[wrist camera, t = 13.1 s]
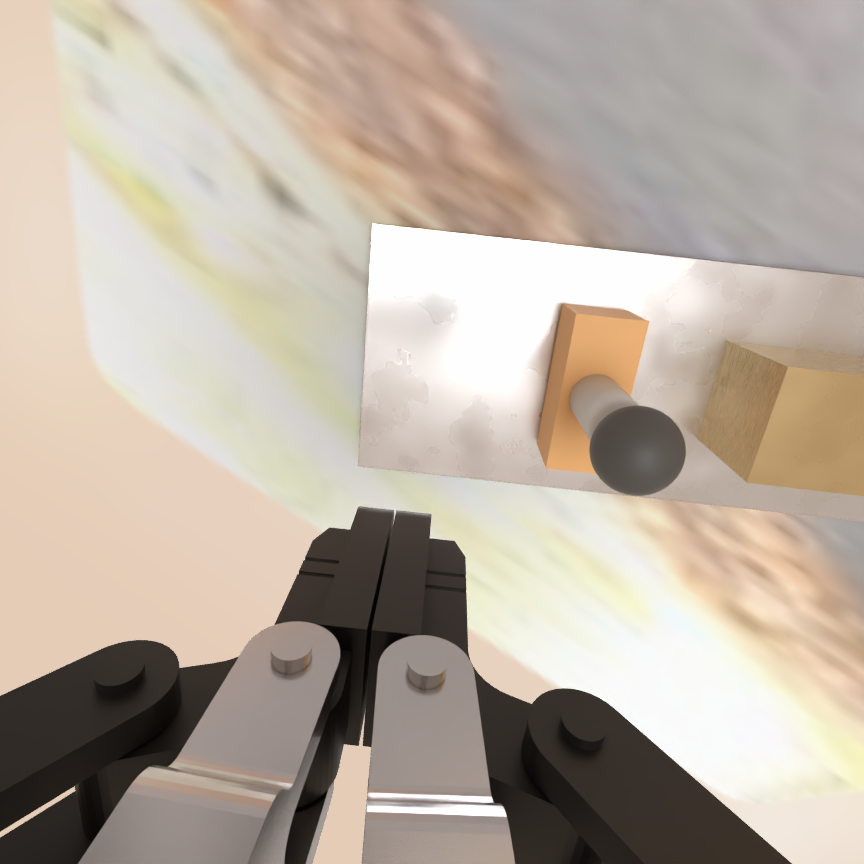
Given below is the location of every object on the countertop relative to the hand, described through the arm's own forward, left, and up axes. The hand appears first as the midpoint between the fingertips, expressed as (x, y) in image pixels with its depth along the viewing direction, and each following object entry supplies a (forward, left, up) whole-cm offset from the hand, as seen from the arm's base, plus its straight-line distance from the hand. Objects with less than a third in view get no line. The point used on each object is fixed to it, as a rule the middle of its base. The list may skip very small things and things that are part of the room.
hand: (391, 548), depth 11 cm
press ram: (+7, 0, -16) cm, 18 cm away
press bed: (+12, 0, -18) cm, 22 cm away
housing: (+18, 0, -16) cm, 24 cm away
